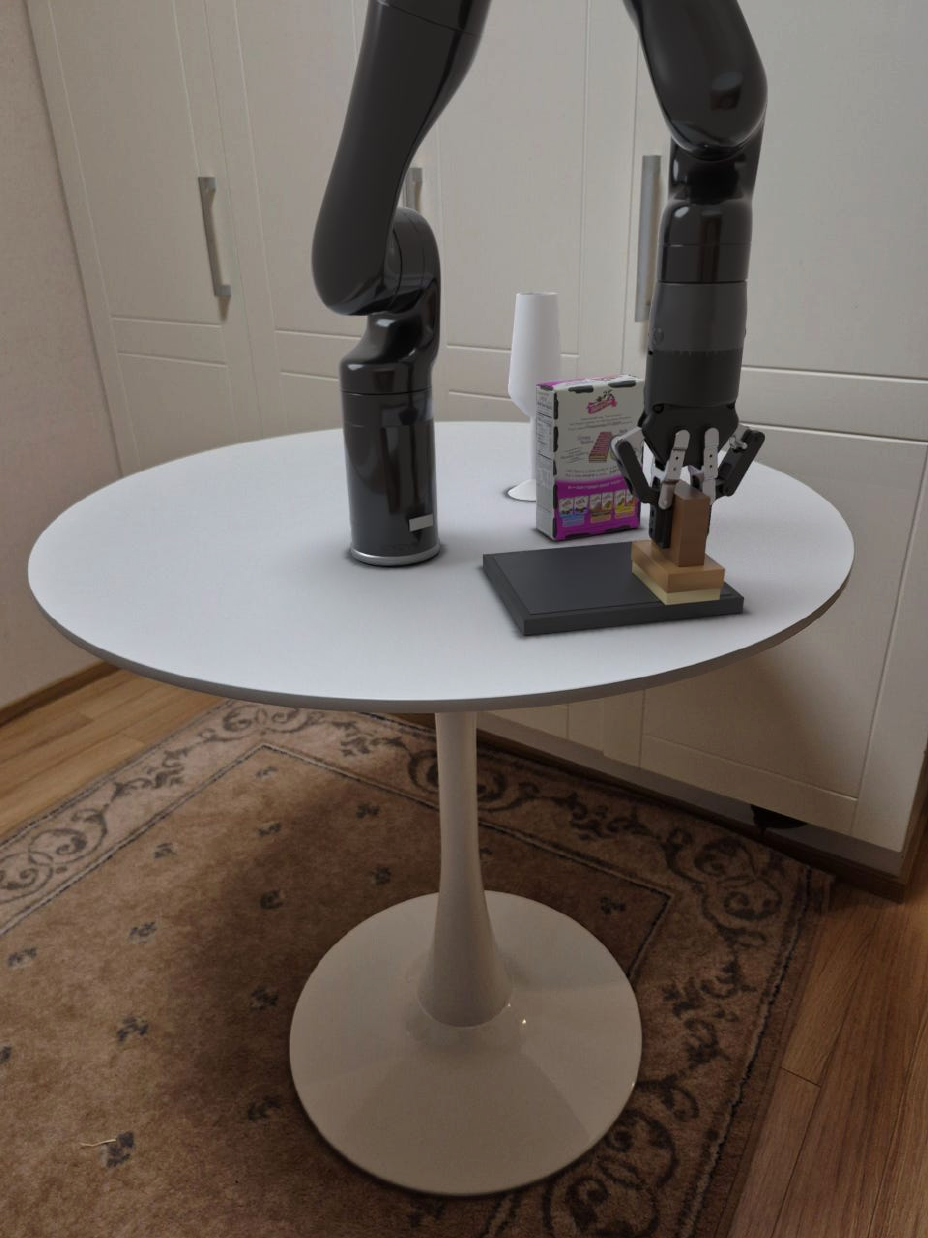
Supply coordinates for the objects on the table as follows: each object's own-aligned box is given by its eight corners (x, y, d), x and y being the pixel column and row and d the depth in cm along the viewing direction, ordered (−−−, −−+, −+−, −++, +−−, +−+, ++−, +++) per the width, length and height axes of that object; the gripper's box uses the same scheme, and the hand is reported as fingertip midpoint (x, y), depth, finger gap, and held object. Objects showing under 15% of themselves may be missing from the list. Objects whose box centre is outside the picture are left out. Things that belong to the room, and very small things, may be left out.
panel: (482, 568, 87) (482, 553, 86) (668, 551, 90) (670, 536, 89) (523, 635, 72) (523, 619, 72) (742, 612, 76) (744, 596, 75)
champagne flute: (504, 486, 113) (504, 292, 103) (554, 484, 113) (559, 290, 103) (512, 501, 107) (512, 296, 97) (565, 499, 107) (571, 294, 97)
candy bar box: (617, 515, 101) (626, 372, 94) (641, 528, 97) (651, 379, 90) (532, 529, 97) (534, 380, 90) (552, 542, 93) (556, 388, 86)
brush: (629, 571, 81) (635, 478, 77) (681, 566, 82) (690, 474, 78) (665, 606, 74) (674, 505, 70) (722, 600, 74) (733, 500, 71)
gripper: (752, 331, 73) (730, 525, 81) (597, 339, 71) (588, 537, 78) (800, 342, 67) (771, 552, 74) (629, 351, 64) (617, 566, 72)
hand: (677, 543), depth 76 cm, fingers closed on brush, 2 cm apart
